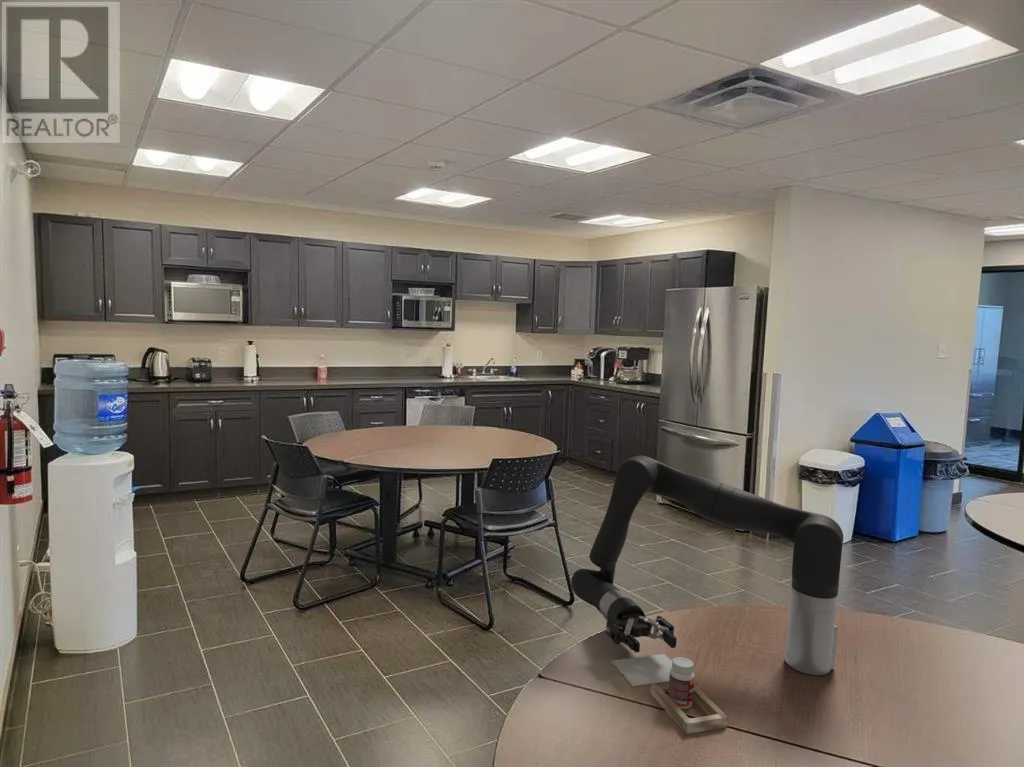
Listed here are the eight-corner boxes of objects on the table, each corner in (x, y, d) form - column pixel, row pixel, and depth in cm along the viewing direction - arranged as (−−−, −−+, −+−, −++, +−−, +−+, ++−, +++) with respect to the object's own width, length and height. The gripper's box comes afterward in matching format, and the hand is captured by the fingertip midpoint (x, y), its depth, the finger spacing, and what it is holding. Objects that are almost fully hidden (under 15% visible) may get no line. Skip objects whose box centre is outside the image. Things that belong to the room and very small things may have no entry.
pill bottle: (693, 711, 125) (696, 670, 124) (668, 707, 126) (671, 666, 125) (691, 697, 129) (694, 657, 129) (667, 694, 130) (670, 654, 130)
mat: (664, 655, 146) (664, 653, 146) (689, 679, 136) (689, 677, 136) (611, 661, 142) (611, 660, 142) (633, 687, 132) (633, 685, 132)
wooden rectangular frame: (687, 688, 133) (688, 679, 133) (726, 727, 120) (727, 716, 120) (650, 693, 130) (651, 684, 130) (686, 734, 118) (687, 723, 118)
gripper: (594, 599, 149) (627, 632, 134) (649, 594, 154) (687, 625, 138) (592, 630, 150) (624, 667, 135) (647, 624, 154) (685, 659, 139)
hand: (656, 646), depth 136 cm, fingers open, 8 cm apart
